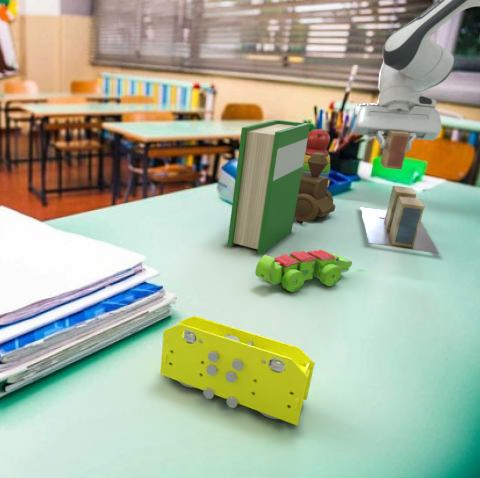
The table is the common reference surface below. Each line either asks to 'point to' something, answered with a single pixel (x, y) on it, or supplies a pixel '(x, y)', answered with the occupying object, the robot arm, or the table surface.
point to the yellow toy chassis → (238, 367)
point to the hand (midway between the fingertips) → (395, 148)
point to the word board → (381, 234)
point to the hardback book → (267, 183)
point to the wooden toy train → (314, 191)
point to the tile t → (406, 221)
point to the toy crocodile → (302, 268)
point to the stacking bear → (317, 149)
